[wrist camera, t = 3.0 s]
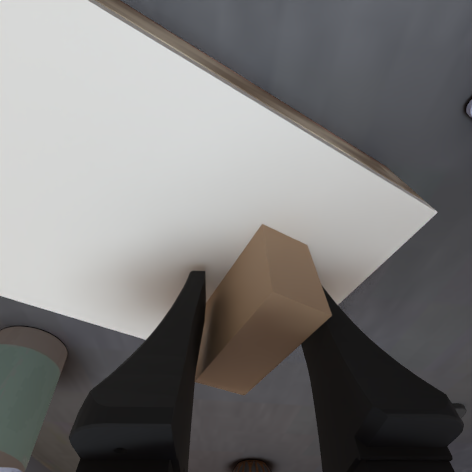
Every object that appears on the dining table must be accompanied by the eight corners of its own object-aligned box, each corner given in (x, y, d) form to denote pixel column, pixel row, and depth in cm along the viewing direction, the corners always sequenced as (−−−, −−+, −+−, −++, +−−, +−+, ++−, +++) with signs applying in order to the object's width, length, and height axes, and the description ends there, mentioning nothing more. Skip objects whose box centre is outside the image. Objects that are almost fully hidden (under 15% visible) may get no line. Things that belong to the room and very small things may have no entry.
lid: (427, 203, 13) (511, 278, 9) (261, 363, 20) (268, 445, 16) (-35, -79, 8) (-297, -186, 4) (-42, 268, 15) (-141, 353, 11)
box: (385, 166, 17) (423, 200, 13) (256, 313, 24) (261, 359, 20) (47, -46, 11) (-27, -76, 8) (10, 222, 18) (-38, 264, 15)
